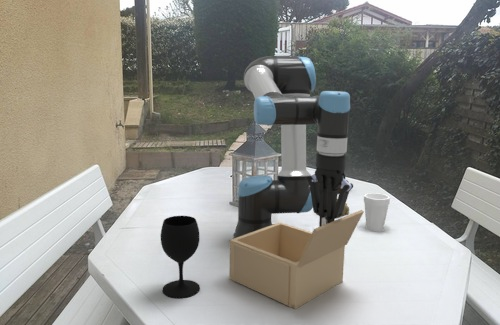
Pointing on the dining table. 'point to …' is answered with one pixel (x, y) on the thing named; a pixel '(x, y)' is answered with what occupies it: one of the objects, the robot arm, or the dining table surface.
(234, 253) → the carton
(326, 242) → the carton flap
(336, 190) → the robot arm
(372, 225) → the foam cup
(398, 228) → the dining table surface
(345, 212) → the pastry
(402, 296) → the dining table surface
